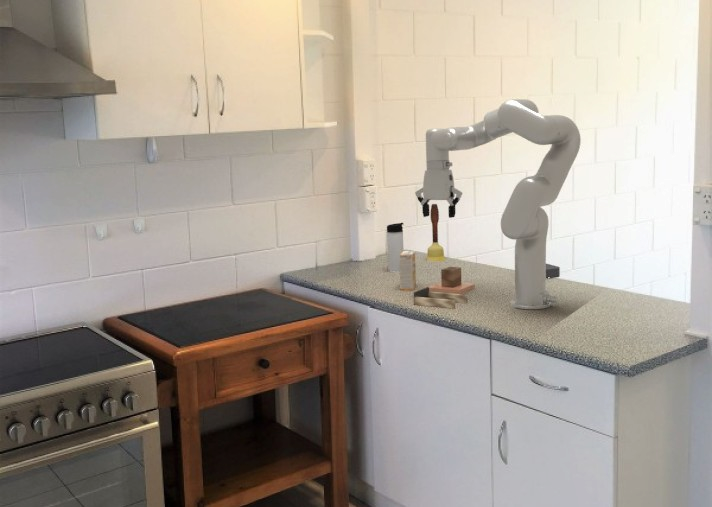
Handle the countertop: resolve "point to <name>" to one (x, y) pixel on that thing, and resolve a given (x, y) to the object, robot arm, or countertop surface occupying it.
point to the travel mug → (394, 245)
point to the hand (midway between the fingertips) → (438, 216)
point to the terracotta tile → (456, 290)
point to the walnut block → (451, 277)
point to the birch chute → (438, 298)
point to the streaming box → (552, 271)
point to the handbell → (435, 237)
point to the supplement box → (407, 270)
